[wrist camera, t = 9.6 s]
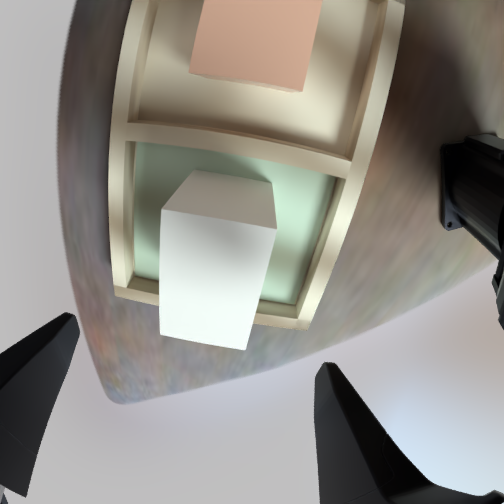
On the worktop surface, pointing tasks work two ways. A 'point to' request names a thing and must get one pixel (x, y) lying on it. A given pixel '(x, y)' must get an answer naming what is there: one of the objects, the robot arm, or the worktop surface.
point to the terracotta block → (256, 42)
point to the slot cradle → (248, 143)
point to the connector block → (214, 257)
